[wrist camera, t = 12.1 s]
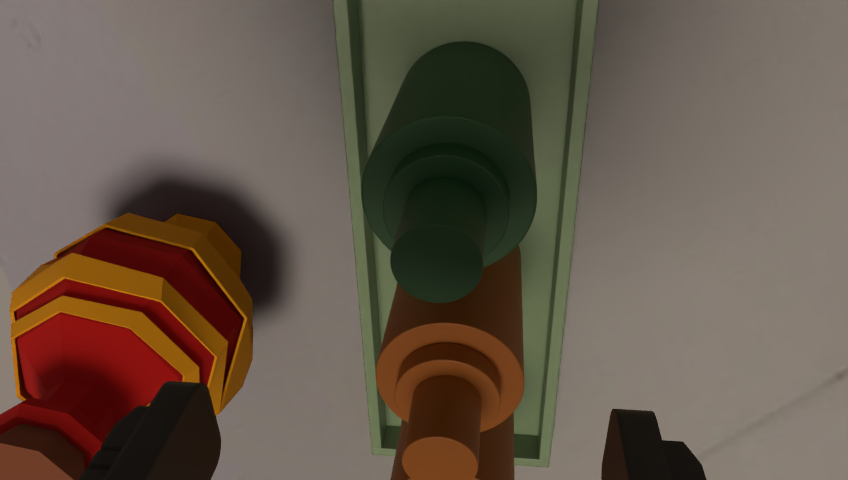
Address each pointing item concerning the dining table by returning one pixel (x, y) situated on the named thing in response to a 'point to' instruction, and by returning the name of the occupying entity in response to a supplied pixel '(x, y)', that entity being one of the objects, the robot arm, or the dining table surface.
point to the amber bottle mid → (454, 370)
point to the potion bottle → (120, 336)
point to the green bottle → (453, 170)
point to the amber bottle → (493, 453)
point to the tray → (554, 162)
